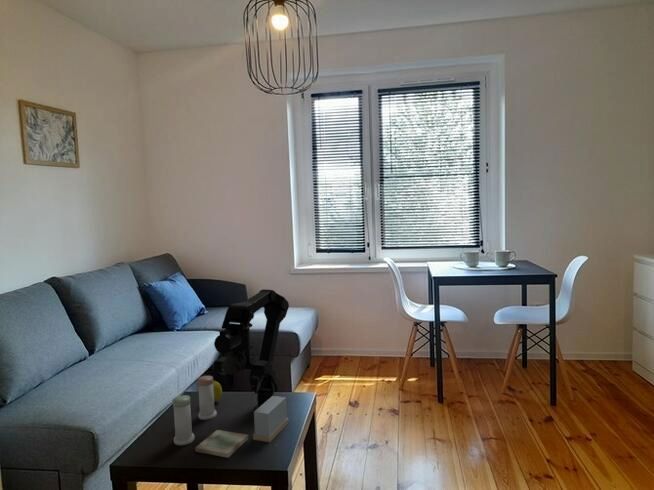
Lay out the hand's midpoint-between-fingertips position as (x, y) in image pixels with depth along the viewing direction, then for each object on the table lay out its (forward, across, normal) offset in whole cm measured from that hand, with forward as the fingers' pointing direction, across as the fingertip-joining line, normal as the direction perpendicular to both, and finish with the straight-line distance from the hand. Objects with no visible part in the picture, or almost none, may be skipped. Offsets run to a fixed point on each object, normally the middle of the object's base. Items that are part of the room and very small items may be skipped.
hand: (243, 391), depth 146 cm
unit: (+11, +10, -1) cm, 15 cm away
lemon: (+11, -20, +12) cm, 26 cm away
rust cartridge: (+11, -16, +2) cm, 20 cm away
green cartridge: (+11, -13, -14) cm, 22 cm away
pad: (+11, 0, -13) cm, 17 cm away
